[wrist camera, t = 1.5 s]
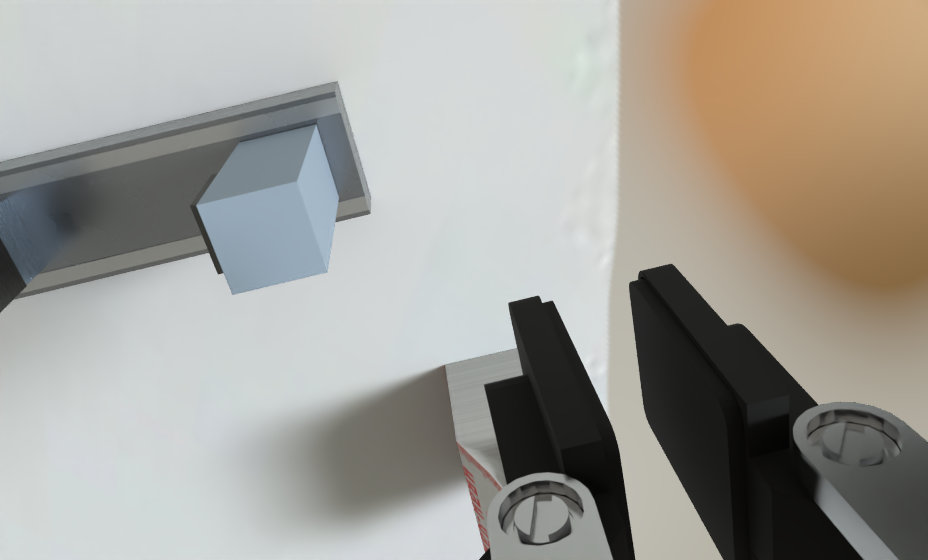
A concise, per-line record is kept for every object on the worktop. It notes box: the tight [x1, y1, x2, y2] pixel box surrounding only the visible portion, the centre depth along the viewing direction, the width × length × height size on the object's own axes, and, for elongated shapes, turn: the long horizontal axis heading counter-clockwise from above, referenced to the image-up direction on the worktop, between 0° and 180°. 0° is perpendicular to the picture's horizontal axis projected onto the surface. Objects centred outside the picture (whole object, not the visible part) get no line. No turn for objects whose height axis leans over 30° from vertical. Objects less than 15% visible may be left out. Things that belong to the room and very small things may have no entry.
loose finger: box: [190, 124, 339, 295], centre depth 25 cm, size 3×4×7 cm
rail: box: [0, 82, 371, 312], centre depth 26 cm, size 5×17×9 cm, turn 103°
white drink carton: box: [445, 348, 523, 552], centre depth 32 cm, size 4×7×10 cm, turn 12°
